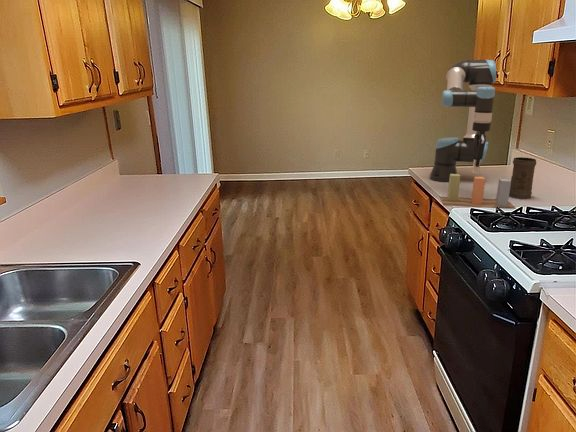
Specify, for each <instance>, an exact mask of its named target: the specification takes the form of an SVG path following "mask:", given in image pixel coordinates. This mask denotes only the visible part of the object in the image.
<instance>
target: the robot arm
mask: <svg viewBox="0 0 576 432" xmlns="http://www.w3.org/2000/svg"><path fill="white" fill-rule="evenodd" d="M445 79H446V81H447V85H446V86H447V87H446V90H443V91H442V97H441V105H442V107H449V108H453V107H454V108H455V107H459V108H461V107H462V108H464V107H465V108H466V107H468V109H469V110H468V118H467V127H466V133H465V135H464V136H463V137H462V140H460V138H459V137H458V136H457V137H455V136H454V137H453V136H452V137H451V136H450V137H443V138H442V137H441V138H439V139H437V140H436V144H435V154H434V156H435V157H434V163H433V167H432V169H431V171H430V173H429V174H430V175H429V179H431V180H432V181H435V182H441V181H442V182H443V183H444V182H445V183H449V178H450V174H458V171H457V170H458V169H457V162H460V163H461V162H463V163H473V165H472V174H480V169H481V168H480V167H481V163H482V162H484V160H485V158H486V156H487V152H488V149H489V148H488V146H489V141H487V137H486V132H490V131H491V126H492V125H491V124H492V123H491V122H492V118H493V109H494V101H495V96H496V88H495V87H494V86H493V84H495V83H496V81H497V65H496V61H495V60H493V59H464V60H459V61H458V62H455V63H453V64H452V65H451V66H450V67H449V68H448V69H447V71H446V75H445ZM464 83H467V84H468V87H469V89H470V90H464Z"/></svg>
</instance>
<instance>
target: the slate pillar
mask: <svg viewBox="0 0 576 432" xmlns="http://www.w3.org/2000/svg"><path fill="white" fill-rule="evenodd" d="M497 183H498V184H497V192H496V197H495V199H496V204H495V205H496V206H497V207H507V205H508V201H509V198H510V197H509V192H510V186H511V179H509V178H498V182H497Z"/></svg>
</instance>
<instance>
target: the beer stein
mask: <svg viewBox="0 0 576 432" xmlns="http://www.w3.org/2000/svg"><path fill="white" fill-rule="evenodd" d="M512 165H513V168H512V175H511V176H510V177H511V178H510V181H511V186H510V192H509V198H512V199H516V200H517V199H518V200H530V199H532V194H533V192H532V191H533V190H532V189H533V182H534V174H535V167H536V165H537V159H535V158H532V157H514V158H513V159H512Z"/></svg>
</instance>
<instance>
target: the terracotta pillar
mask: <svg viewBox="0 0 576 432" xmlns="http://www.w3.org/2000/svg"><path fill="white" fill-rule="evenodd" d="M485 185H486V178H485V177H484V176H474V177H473V184H472V191H471V197H470V198H471V202H472V204H481V205H482V201H483V199H484V193H485V192H484V191H485Z"/></svg>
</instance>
